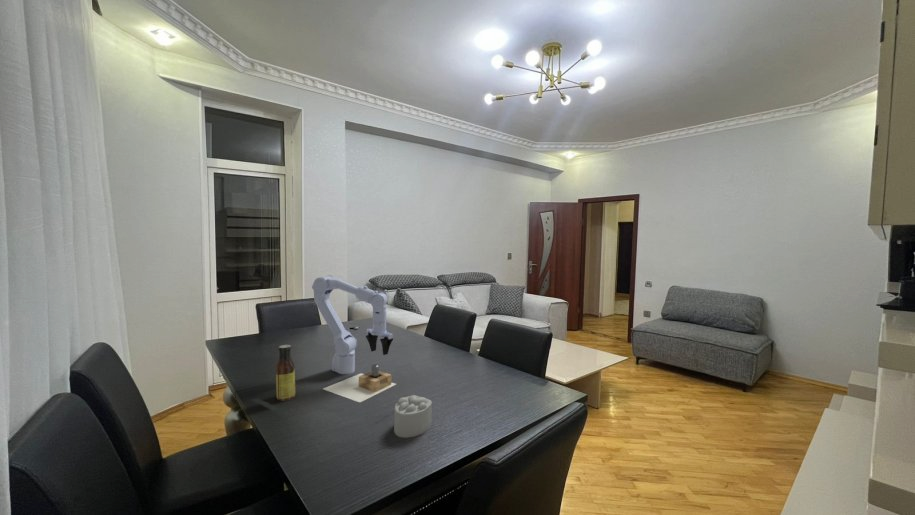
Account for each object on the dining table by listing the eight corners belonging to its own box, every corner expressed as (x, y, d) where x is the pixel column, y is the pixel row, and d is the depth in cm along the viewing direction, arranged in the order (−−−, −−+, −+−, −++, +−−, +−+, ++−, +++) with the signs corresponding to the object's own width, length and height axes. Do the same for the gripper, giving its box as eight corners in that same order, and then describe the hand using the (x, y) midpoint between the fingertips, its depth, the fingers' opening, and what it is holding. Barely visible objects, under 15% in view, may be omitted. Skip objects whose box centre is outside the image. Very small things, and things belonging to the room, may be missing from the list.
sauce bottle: (299, 398, 133) (299, 345, 132) (284, 405, 127) (285, 349, 126) (286, 394, 136) (286, 342, 134) (271, 401, 130) (272, 347, 129)
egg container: (435, 421, 119) (435, 396, 119) (414, 441, 108) (415, 413, 107) (408, 414, 124) (409, 389, 123) (385, 432, 112) (386, 405, 111)
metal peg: (370, 386, 143) (370, 366, 143) (374, 383, 146) (374, 364, 145) (375, 387, 142) (375, 367, 141) (380, 384, 144) (380, 365, 144)
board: (322, 391, 139) (322, 388, 139) (360, 375, 156) (361, 373, 156) (359, 405, 129) (359, 402, 129) (396, 386, 146) (396, 384, 146)
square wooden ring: (358, 386, 142) (358, 376, 142) (374, 379, 150) (375, 369, 150) (375, 392, 138) (375, 381, 137) (391, 384, 145) (391, 374, 145)
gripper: (360, 320, 156) (360, 351, 157) (384, 325, 148) (383, 358, 148) (373, 317, 162) (373, 347, 163) (396, 322, 153) (396, 354, 154)
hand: (379, 352), depth 156 cm, fingers open, 7 cm apart
